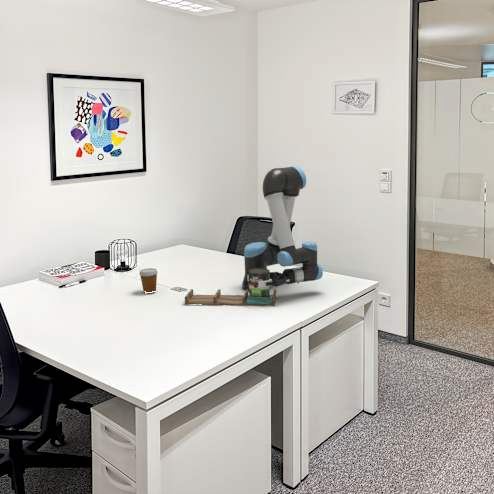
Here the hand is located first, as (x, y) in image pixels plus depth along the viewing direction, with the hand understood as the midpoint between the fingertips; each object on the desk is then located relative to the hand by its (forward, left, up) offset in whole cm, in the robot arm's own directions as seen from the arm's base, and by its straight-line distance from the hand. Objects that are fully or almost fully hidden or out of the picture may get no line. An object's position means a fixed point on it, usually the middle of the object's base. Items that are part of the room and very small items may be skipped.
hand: (252, 281), depth 286 cm
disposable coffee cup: (-16, -57, -11) cm, 60 cm away
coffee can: (-2, +3, -9) cm, 10 cm away
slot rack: (-2, -11, -10) cm, 15 cm away
